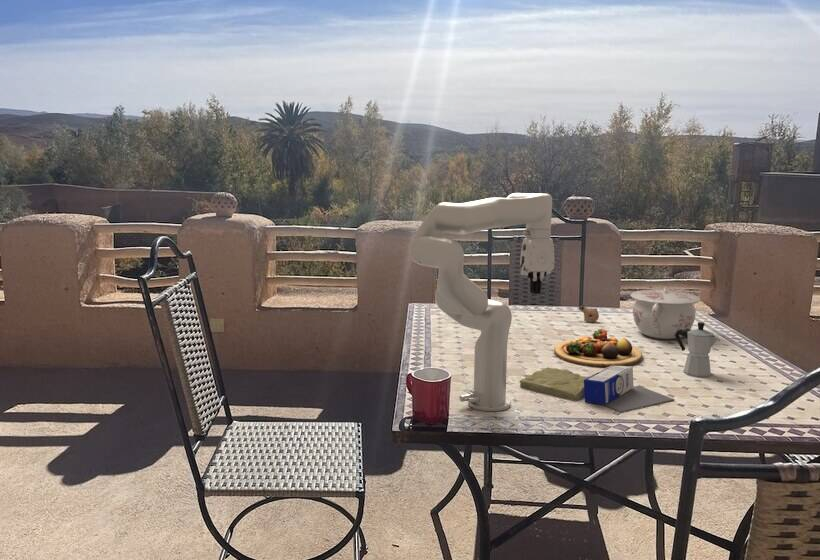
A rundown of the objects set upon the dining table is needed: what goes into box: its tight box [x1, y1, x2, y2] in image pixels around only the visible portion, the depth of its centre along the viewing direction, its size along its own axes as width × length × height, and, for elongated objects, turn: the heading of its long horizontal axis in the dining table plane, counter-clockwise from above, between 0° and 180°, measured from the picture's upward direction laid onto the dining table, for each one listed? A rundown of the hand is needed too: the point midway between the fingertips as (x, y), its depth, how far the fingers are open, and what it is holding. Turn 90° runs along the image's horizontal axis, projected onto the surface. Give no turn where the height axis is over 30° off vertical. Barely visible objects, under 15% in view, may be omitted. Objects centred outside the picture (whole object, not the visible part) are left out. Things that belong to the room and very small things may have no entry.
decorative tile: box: [519, 367, 588, 401], centre depth 216 cm, size 19×20×4 cm
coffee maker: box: [675, 321, 720, 378], centre depth 229 cm, size 15×9×18 cm, turn 45°
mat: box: [601, 385, 675, 413], centre depth 205 cm, size 22×14×1 cm, turn 118°
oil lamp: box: [578, 304, 600, 324], centre depth 302 cm, size 9×4×8 cm, turn 75°
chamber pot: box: [629, 286, 701, 341], centre depth 278 cm, size 28×28×21 cm
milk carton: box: [584, 366, 635, 406], centre depth 207 cm, size 7×7×20 cm
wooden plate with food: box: [553, 328, 643, 369], centre depth 251 cm, size 32×32×8 cm
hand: (535, 293), depth 208 cm, fingers closed
